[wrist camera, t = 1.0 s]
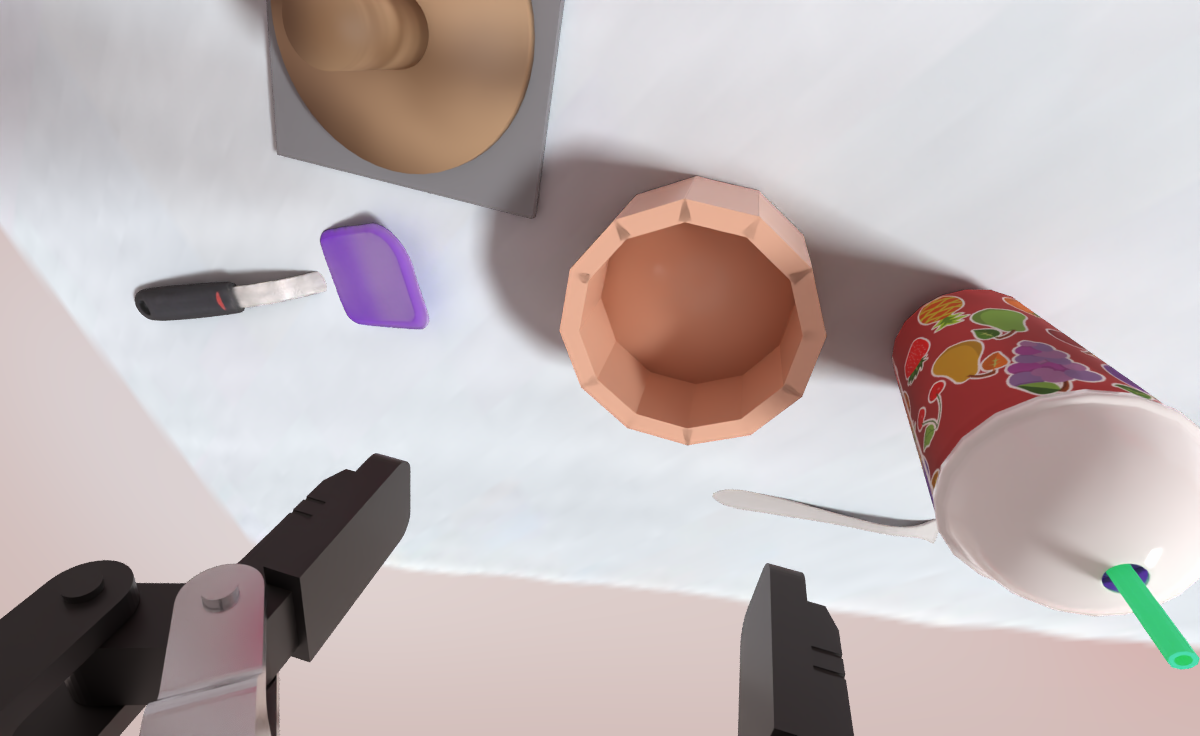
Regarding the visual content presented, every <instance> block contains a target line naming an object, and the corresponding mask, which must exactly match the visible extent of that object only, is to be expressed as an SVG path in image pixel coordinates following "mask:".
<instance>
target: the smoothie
mask: <svg viewBox="0 0 1200 736" xmlns="http://www.w3.org/2000/svg"><path fill="white" fill-rule="evenodd" d="M892 362H893V367H894V372H895V376H896V379H897V382H898V386H899V389H900V393H901V396H902V399H903V403H904V406H905V410H906V413H907V417H908V420H909V424H910V427H911V431H912V434H913V438H914V441H915V444H916V448H917V451H918V455H919V458H920V462H921V465H922V469H923V472H924V476H925V479H926V482H927V486H928V489H929V493H930V496H931V500H932V503H933V507H934V510H935V516H936V524H937V530H938V531H939V533H940V534H941V536H942V537H943V539H944V540H945V542H946V544H947V545H948V547H949V548H950V550H951V551H952V553H953V554H954V555H955V556H956V557H958V558H959V559H960V560H961V561H963V562H964V563H965V564H967V565H968V566H969V567H970V568H972V569H973V570H974V571H976V572H977V573H978V574H980V575H982V576H984V577H987V578H989V579H992V580H995V581H996V582H998V583H999V584H1000V585H1002V586H1003V587H1005V588H1006V589H1007V590H1009V591H1010V592H1011V593H1014V594H1016V595H1018V596H1021V597H1023V598H1025V599H1028V600H1030V601H1033V602H1035V603H1038V604H1041V605H1043V606H1046V607H1048V608H1051V609H1053V610H1058V611H1064V612H1070V613H1077V614H1083V615H1090V616H1111V615H1126V614H1130V613H1134V614H1135V615H1136V617H1137V618H1138V620H1139V621H1140V623H1141V624H1142V626H1143V627H1144V629H1145V630H1146V631H1147V633H1148V634H1149V636H1150V637H1151V639H1152V640H1153V642H1154V643H1155V645H1156V646H1157V647H1158V649H1159V650H1160V652H1161V653H1162V655H1163V656H1164V658H1165V659H1166V660H1167V662H1168V663H1169V664H1170V665H1171V667H1173V668H1177V669H1189V668H1192V667H1194V666H1195V665H1197V664H1198V662H1199V657H1198V656H1197V655H1196V653H1195V652H1194V650H1193V649H1192V648H1191V646H1190V645H1189V644H1188V642H1187V641H1186V640H1185V638H1184V637H1183V635H1182V634H1181V633H1180V631H1179V630H1178V629H1177V627H1176V626H1175V625H1174V623H1173V622H1172V621H1171V619H1170V618H1169V616H1168V615H1167V614H1166V612H1165V611H1164V610H1163V608H1162V607H1161V606H1160V605H1161V604H1163V603H1165V602H1167V601H1169V600H1171V599H1173V598H1175V597H1177V596H1179V595H1181V594H1182V593H1183V592H1184V591H1186V590H1187V589H1188V588H1189V587H1190V586H1192V585H1193V584H1194V583H1195V582H1196V581H1197V580H1199V579H1200V428H1199V427H1198V426H1197V425H1196V424H1195V423H1193V422H1192V421H1191V420H1190V419H1189V418H1188V417H1186V416H1185V415H1184V414H1183V413H1182V412H1180V411H1178V410H1176V409H1174V408H1172V407H1169V406H1166V405H1164V404H1162V403H1161V402H1160V401H1158V400H1157V399H1156V398H1155V397H1153V396H1152V395H1150V394H1149V393H1147V392H1146V391H1145V390H1143V389H1142V388H1140V387H1139V386H1137V385H1136V384H1135V383H1133V382H1132V381H1130V380H1129V379H1128V378H1126V377H1125V376H1123V375H1122V374H1120V373H1119V372H1118V371H1116V370H1115V369H1113V368H1112V367H1110V366H1109V365H1108V364H1106V363H1105V362H1103V361H1102V360H1101V359H1099V358H1098V357H1096V356H1095V355H1093V354H1092V353H1091V352H1089V351H1088V350H1086V349H1085V348H1083V347H1082V346H1081V345H1079V344H1078V343H1076V342H1075V341H1074V340H1072V339H1071V338H1069V337H1068V336H1066V335H1065V334H1064V333H1062V332H1061V331H1059V330H1058V329H1056V328H1055V327H1054V326H1052V325H1051V324H1049V323H1048V322H1047V321H1045V320H1044V319H1042V318H1041V317H1039V316H1038V315H1037V314H1035V313H1034V312H1032V311H1031V310H1029V309H1028V308H1027V307H1025V306H1024V305H1022V304H1021V303H1020V302H1018V301H1017V300H1015V299H1014V298H1013V297H1011V296H1007V295H1004V294H1001V293H998V292H995V291H992V290H971V289H966V290H962V291H958V292H953V293H949V294H945V295H942V296H939V297H937V298H936V299H934V300H932V301H930V302H928V303H926V304H924V305H923V306H921V307H920V308H919V309H918V310H917V311H916V312H915V313H914V314H913V315H912V316H911V317H909V318H908V319H907V320H906V321H905V323H904V324H903V326H902V328H901V330H900V331H899V333H898V335H897V337H896V338H895V342H894V347H893V353H892Z"/></svg>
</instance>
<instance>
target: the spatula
mask: <svg viewBox="0 0 1200 736" xmlns="http://www.w3.org/2000/svg"><path fill="white" fill-rule="evenodd" d="M320 242H321V246H322V249H323V253H324V256H325V259H326V262H327V265H328V267H329V270H330V273H331V275H332V279H333V281H334V284H335V286H336V289H337V292H338V295H339V298H340V300H341V302H342V305H343V307H344V309H345V311H346V313H347V315H348V317H349V318H350V319H351V320H353V321H354V322H356V323H358V324H363V325H372V326H381V327H393V328H407V329H424V328H425V327H426V326H427V325H428V323H429V315H428V312H427V309H426V306H425V303H424V300H423V297H422V293H421V291H420V288H419V285H418V282H417V279H416V275H415V272H414V268H413V265H412V262H411V260H410V257H409V256H408V254H407V253H406V250H405V248H404V247H403V245H402V244H401V242H400V241H399V240H398V239H397V238H396V237H395V236H394V235H393V234H392V232H390V231H389V230H388V229H386V228H385V227H383V226H381V225H379V224H374V223H369V224H363V225H358V226H357V225H355V226H345V227H339V228H335V229H329V230H326V231H324V232H323V233H322V235H321V239H320ZM326 288H327V285H326V281H325V279H324V277H323V276H322V274H320V273H319V272H318V271H316V272H311V273H307V274H304V275H298V276H293V277H289V278H284V279H279V280H274V281H268V282H262V283H256V284H248V285H241V286H237V285H235V284H234V283H231V282H221V283H202V284H188V285H175V286H165V287H156V288H149V289H145V290H141V291H139V292H138V293H137V294H136V297H135V304H136V307H137V309H138V310H139V312H140V313H141V314H142V315H143V316H145V317H146V318H148V319H151V320H159V321H167V320H182V319H193V318H203V317H212V316H220V315H229V314H235V313H240V312H243V311H244V309H245V307H247V308H248V307H255V306H261V305H267V304H273V303H279V302H284V301H287V300H292V299H297V298H301V297H306V296H309V295H313V294H317V293H320V292H324V291H326Z"/></svg>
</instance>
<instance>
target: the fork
mask: <svg viewBox="0 0 1200 736" xmlns="http://www.w3.org/2000/svg"><path fill="white" fill-rule="evenodd" d="M712 497H713V498H714V499H715V500H717V501H718V502H720V503H721V504H723V505H726V506H730V507H733V508H737V509H742V510H749V511H755V512H762V513H768V514H774V515H780V516H787V517H793V518H800V519H807V520H813V521H819V522H825V523H830V524H836V525H842V526H847V527H852V528H856V529H861V530H866V531H871V532H876V533H881V534H886V535H893V536H902V537H914V538H921V539H924V540H927V541H929V542H931V543H934V542H935V540H936V538H937V535H938V532H939V531H938V530H937V524H936V519H933V520H930V521H928V522H925V523H923V524H919V525H916V526H908V527H896V526H888V525H883V524H878V523H873V522H869V521H865V520H861V519H857V518H853V517H849V516H845V515H841V514H838V513H834V512H830V511H827V510H823V509H820V508H816V507H812V506H809V505H805V504H802V503H798V502H795V501H791V500H787V499H783V498H779V497H775V496H770V495H765V494H760V493H754V492H749V491H744V490H722V491H718V492H716V493H713V496H712Z"/></svg>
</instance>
